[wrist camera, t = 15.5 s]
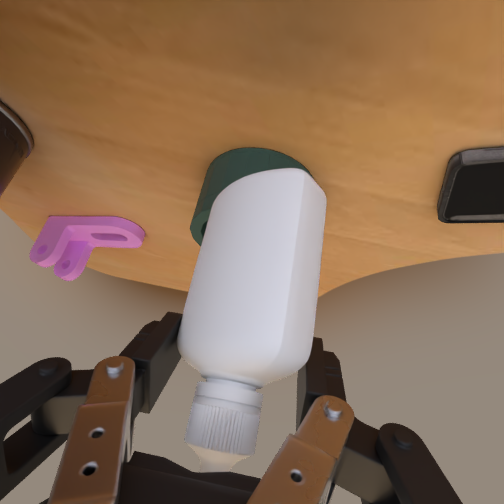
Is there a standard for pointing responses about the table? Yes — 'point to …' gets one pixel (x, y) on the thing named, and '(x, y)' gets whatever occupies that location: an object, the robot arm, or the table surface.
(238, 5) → the table surface
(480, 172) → the phone
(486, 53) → the table surface
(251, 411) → the eye dropper bottle
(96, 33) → the table surface
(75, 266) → the bracket
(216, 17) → the table surface
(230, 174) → the green short hollow cylinder
